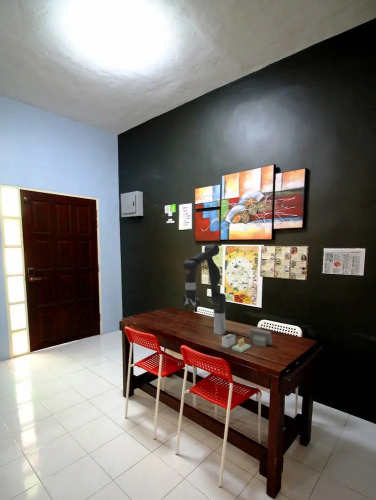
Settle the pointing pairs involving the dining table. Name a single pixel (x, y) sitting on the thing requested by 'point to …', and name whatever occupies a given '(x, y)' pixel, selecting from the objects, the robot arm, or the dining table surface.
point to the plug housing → (228, 340)
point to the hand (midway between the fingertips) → (191, 311)
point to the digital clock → (260, 337)
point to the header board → (241, 346)
